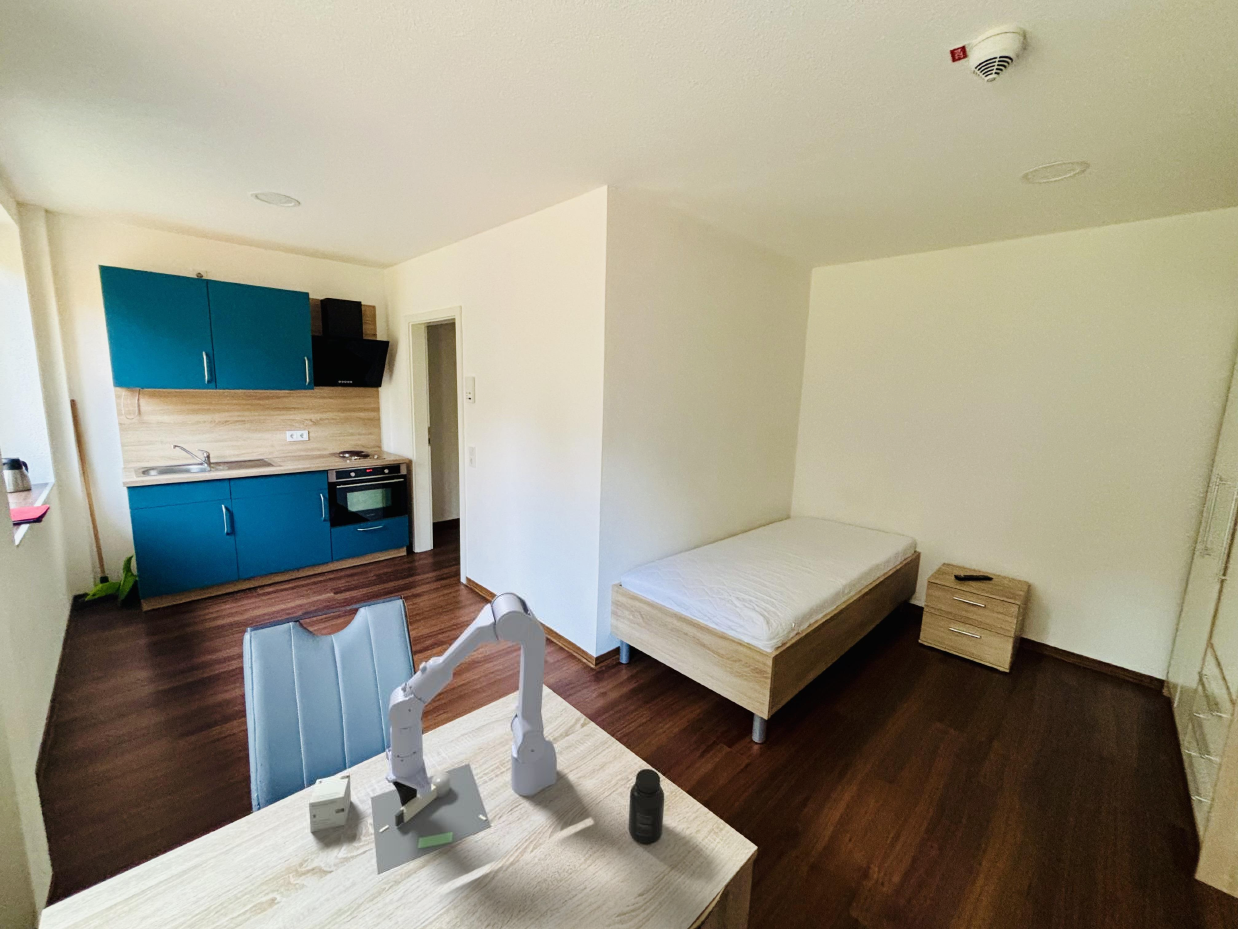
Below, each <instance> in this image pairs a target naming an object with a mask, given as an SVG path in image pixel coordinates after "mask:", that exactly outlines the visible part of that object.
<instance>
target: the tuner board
mask: <svg viewBox="0 0 1238 929" xmlns="http://www.w3.org/2000/svg"><path fill="white" fill-rule="evenodd" d="M470 764H471V763H466V764H464V765H460V766H457V767H454V768H451V769H449V770H446V771H445V772H446V773H448V774H449V775H450V792H449V794H448V795H447V796H445V797H443V798H435V799H433V800H432V801H431V802H430V803H429V804H427V805H426V806H425V807H424V808H422V809H421V810H420V811H419V812H418V813H416V814H415V815H414V816H413V817H412V818H410V819H409V820H408V821H407V822H406V823H405V822H403V823H402V824H401V825H399V826H398V827H397V826H395V815H396V814H397V813H398V812H399V811H400V809H401V808H402V805H401V802H400V797H399V794H398V792H397V790H396V788H394V789H391V790H389V791H385V792H383V793H380V794H377V795H373V796H372V797H370V801H371V811H372V812H371V815H372V824H373V825H372V826H373V835H374V845H375V846H374V847H375V848H374V849H375V858H376V860H375V861H376V869H377V870H376V872H377V875H380V874H382V873H384V872H385V873H386V872H387V871H390V870H391V869H394V868H396V867H400V866H401V865H404V864H406V863H409V862H411V861H414V860H415V859H418V858H421V857H422V856H423V857H424V856H425V855H427V854H430V853H432V852H434V851H437V850H440V849H441V848H444V847H447V846H448V845H451V844H453V843H456V842H458V841H462V840H464V839H466V838H468V837H470V836H473V835H475V834H477V833H479V832H482V831H484V830H487V829H489V828H491V827H492V826H491V822H490V819H489V817H488V813H487V811H486V808H485V805H484V803H483V799H482V795H481V794H480V790H479V787H478V784H477V782H476V779H475V777H474V773H473V771H472V767H471V765H470ZM435 775H436V774H434V775H431V776H429V777H428V780H429V781H430V783H431V784H432V778H433V777H434V776H435ZM418 794H419V791H418V790H417V795H418Z"/></svg>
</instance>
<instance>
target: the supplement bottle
mask: <svg viewBox="0 0 1238 929" xmlns="http://www.w3.org/2000/svg"><path fill="white" fill-rule="evenodd" d="M628 810H629V811H628V832H629V835H630V837H631V838H632V839H633V841H635V842H636V843H638V844H640V845H644V846H649V845H653V844H656V843H657V842H658V841H659V840H660V839H661V837H662V835H663V828H664V827H663V826H664V813H665V812H664V811H665V792H664V789H663V788H662V786H661V777H660V775H659V773H658V772H657V771H655V770H654V769H652V768H651V769H650V768H644V769H640V770H639V771H637V773H636V775H635V783H633V785H632V786H631V788H630V792H629V807H628Z"/></svg>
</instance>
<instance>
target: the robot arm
mask: <svg viewBox="0 0 1238 929" xmlns="http://www.w3.org/2000/svg"><path fill="white" fill-rule="evenodd" d="M500 639H501V640H504V641H506V642H511V643H514V644H519V645H520V662H519V664H520V665H519V666H520V667H519V679H518V680H519V681H518V683H519V685H518V697H517V699H518V700H517V701H518V703H517V704H516V705H515V712H514V715H513V716H512V718H511V721H510V729H511V732H512V735H513V742H512V746H511V748H510V749H511V750H510V751H511V752H510V760H511V761H510V787H511V789H512V791H513V792H514V793H515V794H517V795H519V796H522V797H524V796H525V797H527V796H534V795H536V794H537V793H539V792H540V791H541V790H543V789H544V788H546V787H549V786H551V785H554V784H556V783H557V771H558V770H557V768H558V767H557V766H558V761H557V760H558V758H557V752H556V749H555V746H554V743H553V741H552V740H551V739H546V738H545V735H544V731H545V730H544V729H545V728H544V722H543V715H542V707H543V691H544V690H543V689H544V676H545V675H544V674H545V660H546V659H545V658H546V656H545V655H546V645H547V644H546V643H547V642H546V640H547V636H546V631H545V629H544V627H543V625H542V624H541V622H540V621H539V619H538V618H537V617H536V615H535V613H533V610H532V609H531V608H530V606H529V605H528V603H527V601H526V599H524V598H523V597H521V596H519V595H518V594H517V593H515V592H512V591H503V592H500V593H499V594H497V595H495V597H494V598H493V599H492V601H491V603H490V602H489V603H488V604H486V605H484V607H483V608H482V610H480V612H479V614H478V615H477V616H476V618H475V619H474V620H473V622H472V623H470V625H469V626H468V627H467V628H466V629H465V631H464V632H462V634H461V635H460V636H459V637H458V638H457V639H456V640H455V641H454V642H453V643H452V644H451V645H450V647H449V648H447V650H446V651H445V652H444V654H442V655H441V656H434V657H431V658H430V659H429V660H428V661H427V662H426V661H423V662H422V663H421V664H420V665H419V670H418V671H417V672H416V673H415V674H414V675H413V676H412V677H411V678H410V679H409V680H408V681H407V682H404V683H402V684H401V685H400V686H397V687H396V688H395V689H394V690H393V691H392V692H391V695H390V697H389V705H388V713H387V714H388V717H387V718H388V722H389V725H390V729H389V733H390V734H389V737H390V747H389V748H387V749H385V759H386V760H388V762H389V771H390V772H388V773H387V774H386V775H385V780H386V781H387V782H388V783H389V784H392V785H393V786H394V787H395V788H394V789H396V790H397V792H398V794H399V797H400V802H401V805H402V807H403V806H404V805H406V804H407V803H408V802H409V801H411V800H412V799H414V798H415V797H417V790H418V791H419V796H420V797H421V798H423V797H425V796H427V795H428V794H430V793H431V783H430V781H429V780H428V772H427V768H426V762H425V759H424V746H423V744H424V743H423V721H422V716H423V710H424V708H425V707H426V705H428V704H429V703H430V702H431V701H432V699H434V698H435V697H436V696H437V695H438V694H439V693H440V692H441V691H442V690H443V689H444V688H445V687H446V686H447V685H448V684H449V683H450V682H451V681H452V680H453V676H454V673H453V672H454V669H455V668H456V667H457V666H459V665H460V664H461V663H462V662H463V661H464V660H465V659H467V658H468V657H469V656H470V655H471V654H472V653H474V651H475V650H477V649H478V648H479V647H480V646H481V645H482V644H483V643H492V644H493V643H494V644H498V643H500Z"/></svg>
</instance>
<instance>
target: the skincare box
mask: <svg viewBox="0 0 1238 929" xmlns="http://www.w3.org/2000/svg"><path fill="white" fill-rule="evenodd" d="M351 794H352V792H351V774H350V773H346V774H341V775H332V776H329V777H324V778H319V779H317V780H316V781H315V784H314V788H313V790H312V794H311V797H310V800H309V802H308V812H309V825H310V826H309V827H310V833H312V832H316V831H322V830H325V829H330V828H331V829H332V828H336V827H340V826H345V825H346V822H347V819H348V815H349V810H350V807H351V801H352V800H351V799H352V795H351Z"/></svg>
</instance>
